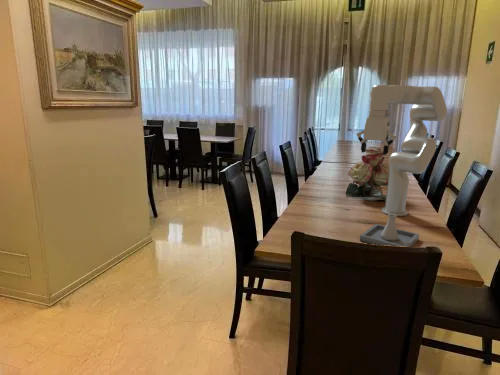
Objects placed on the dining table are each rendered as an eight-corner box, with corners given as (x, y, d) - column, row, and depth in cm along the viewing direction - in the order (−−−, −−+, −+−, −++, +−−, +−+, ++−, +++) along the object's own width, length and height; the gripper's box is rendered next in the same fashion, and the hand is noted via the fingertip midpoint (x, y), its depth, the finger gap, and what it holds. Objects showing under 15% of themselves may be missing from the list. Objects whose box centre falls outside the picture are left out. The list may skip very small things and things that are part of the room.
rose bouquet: (343, 198, 198) (347, 148, 190) (352, 187, 223) (356, 142, 215) (389, 205, 187) (396, 151, 179) (393, 192, 212) (399, 145, 204)
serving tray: (375, 228, 152) (376, 223, 151) (418, 239, 141) (419, 233, 140) (359, 240, 139) (360, 235, 138) (405, 253, 128) (406, 247, 127)
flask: (394, 234, 143) (397, 212, 141) (402, 241, 136) (405, 218, 134) (377, 234, 143) (380, 212, 140) (384, 241, 136) (387, 218, 133)
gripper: (401, 114, 144) (396, 154, 148) (362, 113, 154) (358, 150, 159) (395, 115, 138) (390, 156, 142) (355, 113, 149) (352, 152, 153)
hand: (374, 153), depth 151 cm, fingers open, 9 cm apart
